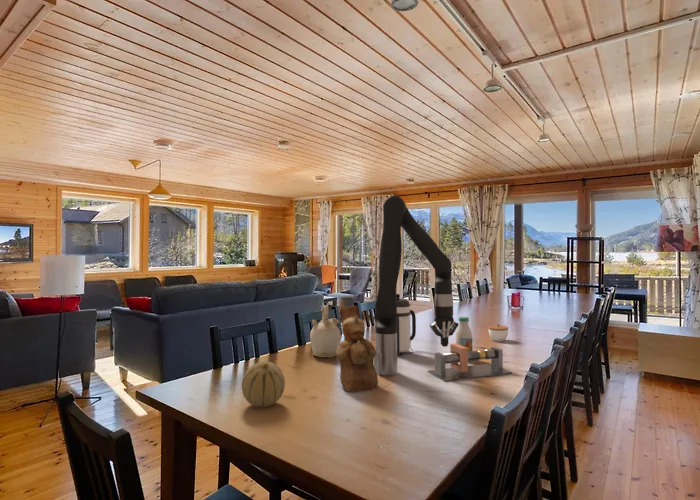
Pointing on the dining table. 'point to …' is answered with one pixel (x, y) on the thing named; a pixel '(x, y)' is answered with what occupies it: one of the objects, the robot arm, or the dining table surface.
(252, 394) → the cantaloupe
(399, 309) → the coffee press
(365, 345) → the ceramic vessel
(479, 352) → the rail
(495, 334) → the lidded jar
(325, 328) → the jug
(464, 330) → the milk bottle
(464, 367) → the collar
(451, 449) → the dining table surface
